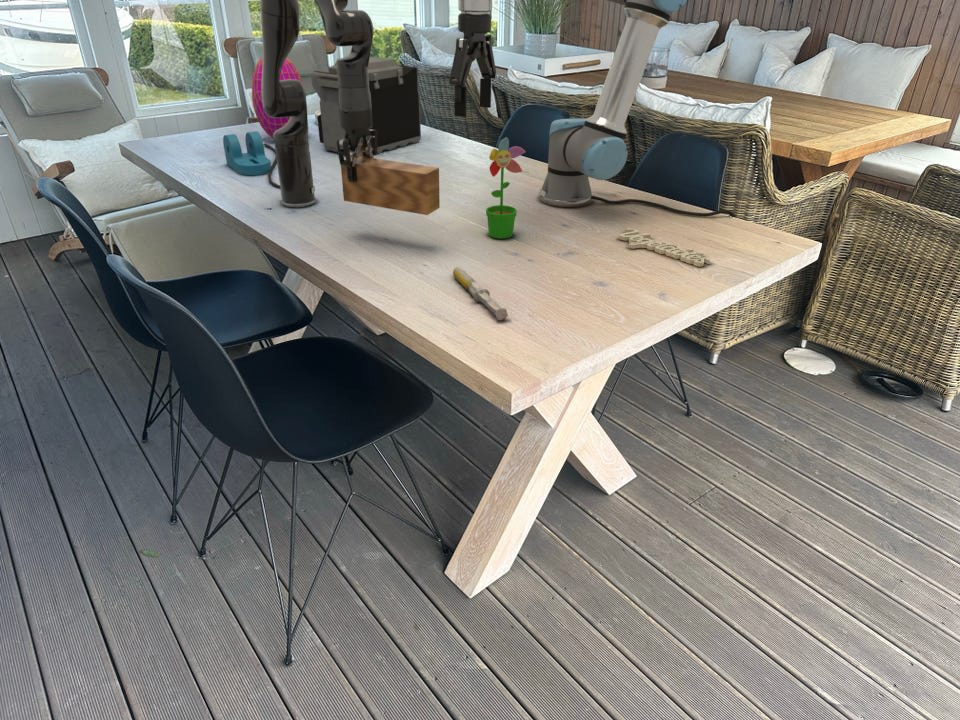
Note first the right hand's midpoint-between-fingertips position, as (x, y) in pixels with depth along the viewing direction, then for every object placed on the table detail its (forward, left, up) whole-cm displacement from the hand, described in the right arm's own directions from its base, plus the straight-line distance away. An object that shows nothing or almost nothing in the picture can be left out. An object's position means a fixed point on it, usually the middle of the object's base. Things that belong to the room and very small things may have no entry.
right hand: (473, 111), depth 165 cm
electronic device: (+74, -66, -30) cm, 103 cm away
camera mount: (+92, -20, -30) cm, 99 cm away
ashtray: (+108, -96, -30) cm, 147 cm away
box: (+14, +16, -20) cm, 30 cm away
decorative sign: (-47, -8, -30) cm, 57 cm away
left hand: (+23, +16, -15) cm, 32 cm away
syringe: (-19, +36, -30) cm, 51 cm away
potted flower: (-8, 0, -30) cm, 31 cm away
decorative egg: (+108, -58, -30) cm, 127 cm away
